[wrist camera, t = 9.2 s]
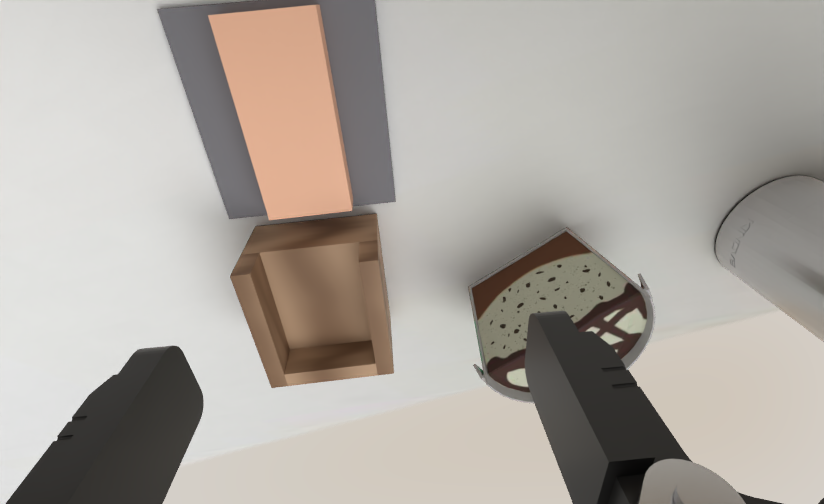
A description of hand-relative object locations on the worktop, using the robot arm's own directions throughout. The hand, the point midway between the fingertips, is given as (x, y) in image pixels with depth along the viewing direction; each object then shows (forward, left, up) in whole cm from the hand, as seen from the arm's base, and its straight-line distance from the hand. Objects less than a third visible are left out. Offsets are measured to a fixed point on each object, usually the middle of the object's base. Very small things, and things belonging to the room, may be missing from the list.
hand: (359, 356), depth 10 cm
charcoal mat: (+5, -1, -21) cm, 21 cm away
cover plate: (+4, -1, -20) cm, 21 cm away
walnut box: (+5, +11, -21) cm, 24 cm away
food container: (-12, +14, -21) cm, 28 cm away
